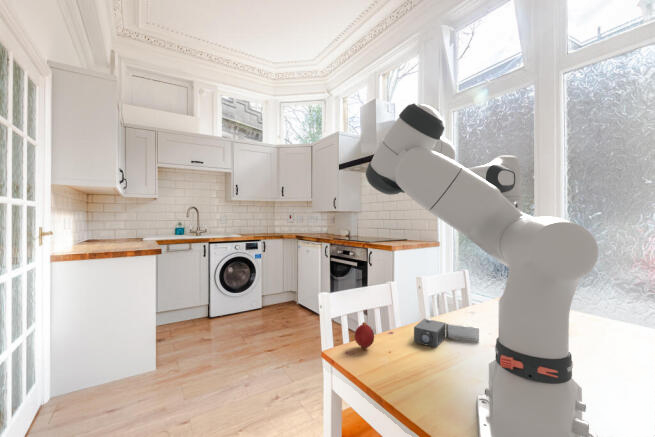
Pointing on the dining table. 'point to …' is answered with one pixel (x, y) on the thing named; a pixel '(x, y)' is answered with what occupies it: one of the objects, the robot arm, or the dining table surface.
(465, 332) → the side door
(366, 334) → the onion
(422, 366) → the dining table surface
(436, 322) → the camera body
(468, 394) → the dining table surface
